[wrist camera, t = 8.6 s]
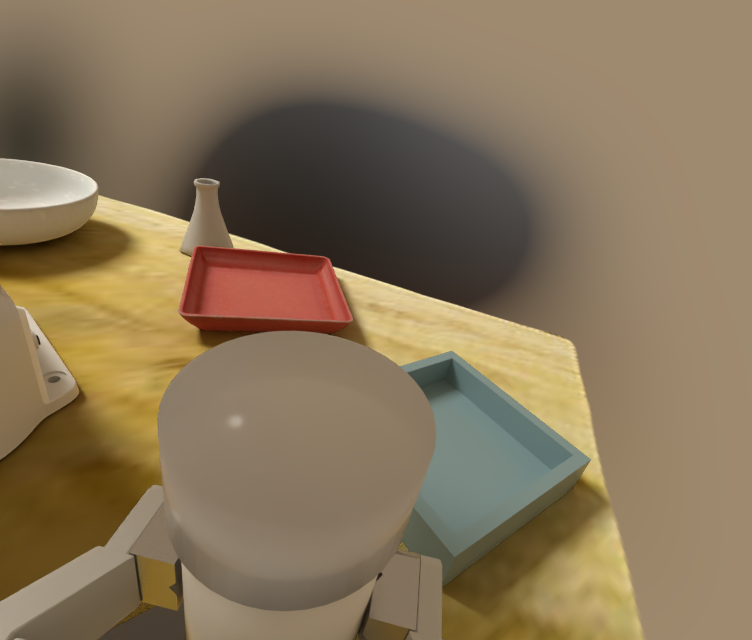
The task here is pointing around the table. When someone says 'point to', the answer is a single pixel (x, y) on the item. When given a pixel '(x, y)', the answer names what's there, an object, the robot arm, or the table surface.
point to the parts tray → (482, 466)
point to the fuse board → (151, 626)
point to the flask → (206, 219)
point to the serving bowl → (42, 201)
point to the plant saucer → (262, 292)
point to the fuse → (289, 482)
